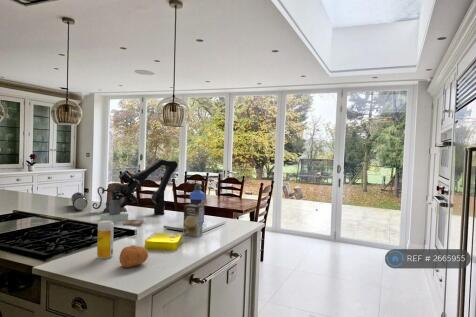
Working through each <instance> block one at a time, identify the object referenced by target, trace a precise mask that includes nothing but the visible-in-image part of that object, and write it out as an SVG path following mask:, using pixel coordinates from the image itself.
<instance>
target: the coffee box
mask: <svg viewBox="0 0 476 317" xmlns="http://www.w3.org/2000/svg"><path fill="white" fill-rule="evenodd" d="M203 225H204V224H203V205H194V204H191V203H189V204H185V205H183V224H182V226H183V227H182V229H183V230H182V236H188V237H194V238H195V237H196V238H199V237H200V236H203Z"/></svg>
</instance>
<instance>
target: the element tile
mask: <svg viewBox="0 0 476 317" xmlns="http://www.w3.org/2000/svg"><path fill="white" fill-rule="evenodd" d="M182 243H183V234H181V233H165V232H164V233H163V232H161V233H160V232H154V233H152V234H150V236H149V237H148V236H147V238H146V239H145V240H144V248H145V249H146V250H147V251H148V250H151V251H172V252H174V251H177V250H178V249H179V248H180V246H181V245H182Z"/></svg>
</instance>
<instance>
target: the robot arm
mask: <svg viewBox="0 0 476 317" xmlns="http://www.w3.org/2000/svg"><path fill="white" fill-rule="evenodd" d="M162 166H164V167H165V168H164V169H165V172H164V174H163V175H162V176H163V177H162V179H161V181H160V183H159V186H158V187H157V189H156V191H153V192H152V195H151V196H150V197H151V202H153V205H154V207H153V213H154V215H155V216H159V215H160V216H164V215H165V207H166V205H167V202H166V201H165V200H164V199H165V191H166V189H167V186H168V183H169V181H170V179H171V177H172V174H173V173H174V172H175V171H176V169H177V168H178V166H179V165H178V162H177V161H176V160H165V159H163V158H162V159H160V158H159V159H158V160H156V162H154V163H153V164H151V165H150V166H148V167H147V168H145V169H143V170H140V171H138V172H136V173H135V174H131V172H129V171H128V170H127V169H126V170H125V171H123V172H121V173H120V174H119V175H118V178H119V180H121V181H122V182H123V185H118V184H117V186H116V188H115V189H116V190H119V192H120V193H121V194H119V192H117V191H113V192H112V193H111V194H112V196H113V199H112V200H120V199H121V197H122V198H124V202H123V203H122V205H121V206H120V208H123V207H125V208H126V206H128V205H131V204H134V203H136V202H137V197H136V195H135V194H134V193H135V190H136V189H137V188H141V187H142V185H141V183H143V182H145V180H147V179H148V178H149V176H150V175H151V174H153V173H154V172H156V170H158V169H159V168H161V167H162Z"/></svg>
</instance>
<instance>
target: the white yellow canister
mask: <svg viewBox="0 0 476 317" xmlns="http://www.w3.org/2000/svg"><path fill="white" fill-rule="evenodd" d="M114 223H115V222H113V221H111V220H103V221H102V220H100V221H98V223H97V250H96V254H97V255H96V257H98V259H99V260H108V259H112V257H113V255H114V227H115V226H114Z"/></svg>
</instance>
